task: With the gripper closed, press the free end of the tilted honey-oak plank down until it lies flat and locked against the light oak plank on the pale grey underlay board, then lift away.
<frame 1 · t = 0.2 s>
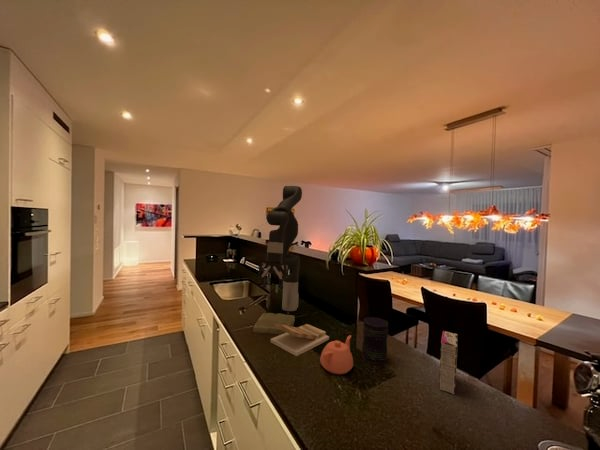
hand: (271, 286, 122), 23 cm above the worktop, tool pointing down, fingers open, 8 cm apart
light oak plank: (311, 335, 122), resting on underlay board
honey oak plank: (296, 331, 114), point 5 cm above the worktop, hinge at 22.0°
teapot: (337, 366, 98), on the worktop
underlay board: (300, 340, 116), on the worktop
decorative tile: (275, 326, 132), on the worktop
candy bar box: (447, 384, 89), on the worktop
storage jar: (373, 358, 105), on the worktop
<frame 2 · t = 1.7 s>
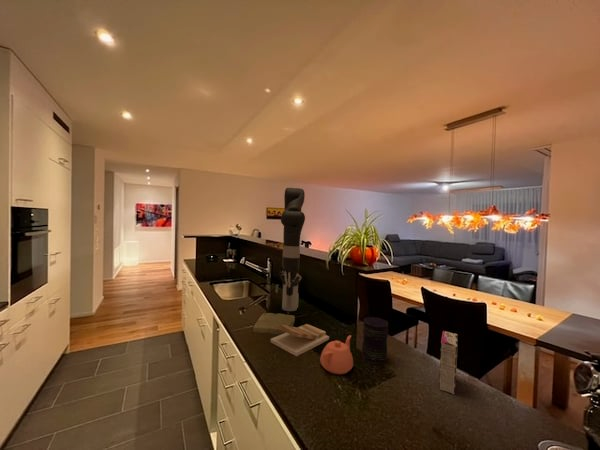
hand: (289, 295, 113), 21 cm above the worktop, tool pointing down, fingers closed
nothing on the worktop moved.
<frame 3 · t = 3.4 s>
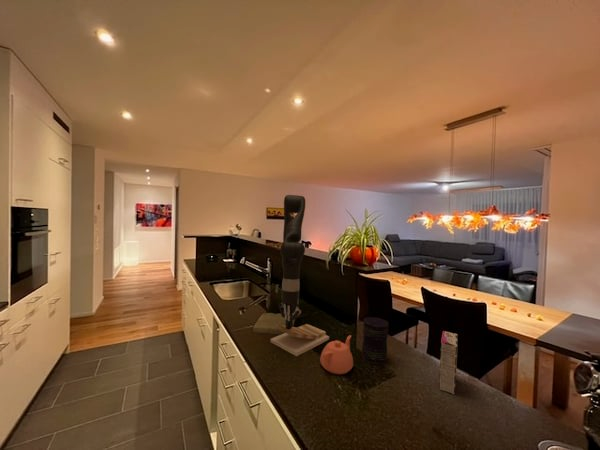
hand: (288, 328, 110), 8 cm above the worktop, tool pointing down, fingers closed
honey oak plank: (296, 331, 114), point 5 cm above the worktop, hinge at 20.9°, touching gripper
everything else where it was.
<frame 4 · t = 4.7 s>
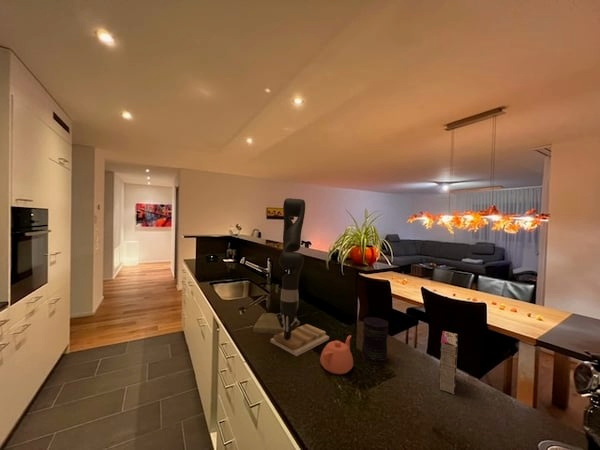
hand: (287, 339, 110), 4 cm above the worktop, tool pointing down, fingers closed
honey oak plank: (295, 337, 114), point 3 cm above the worktop, hinge at 2.4°, touching gripper
everything else where it was.
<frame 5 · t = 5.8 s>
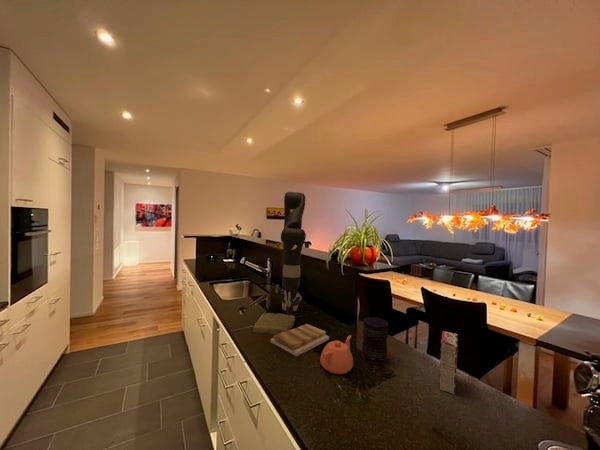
hand: (289, 314, 110), 14 cm above the worktop, tool pointing down, fingers closed
honey oak plank: (295, 337, 114), point 3 cm above the worktop, hinge at 2.4°
everything else where it was.
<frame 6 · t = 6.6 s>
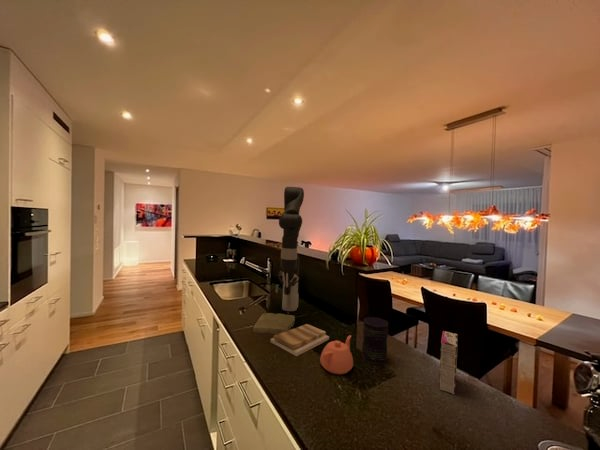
hand: (287, 294, 118), 20 cm above the worktop, tool pointing down, fingers closed
nothing on the worktop moved.
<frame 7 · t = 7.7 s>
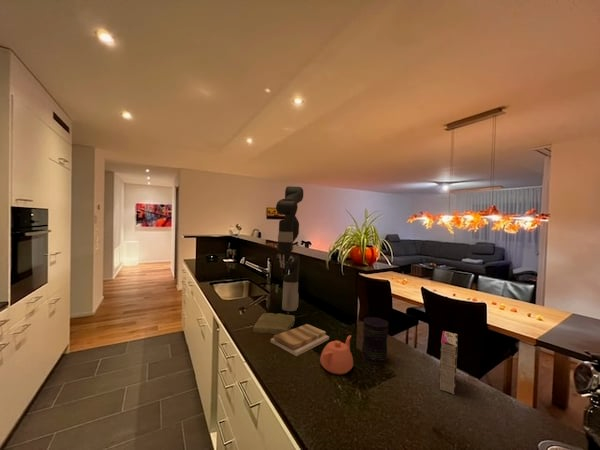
hand: (283, 275, 128), 27 cm above the worktop, tool pointing down, fingers closed
nothing on the worktop moved.
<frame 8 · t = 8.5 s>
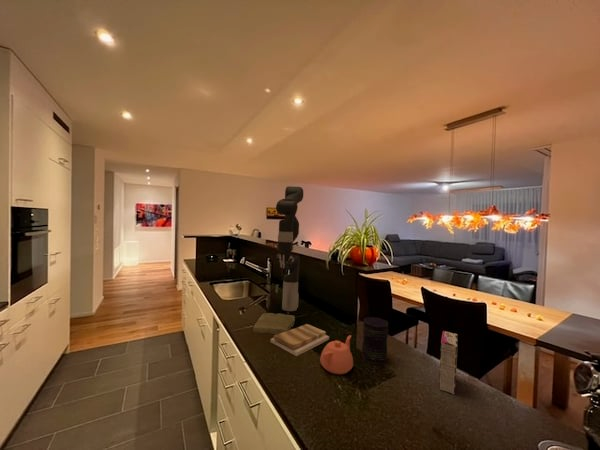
hand: (283, 275, 128), 27 cm above the worktop, tool pointing down, fingers closed
nothing on the worktop moved.
at the end: honey oak plank at +2° (first picture: +22°); the gripper is holding nothing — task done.
